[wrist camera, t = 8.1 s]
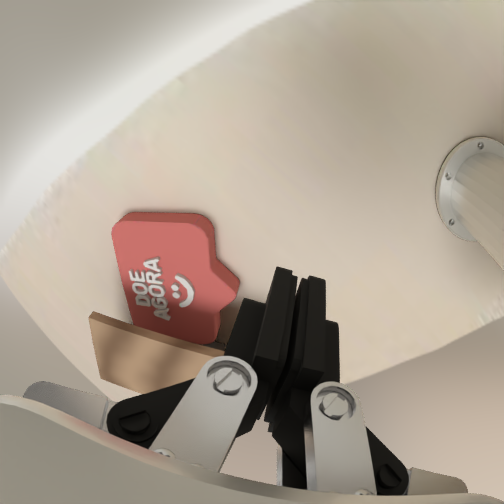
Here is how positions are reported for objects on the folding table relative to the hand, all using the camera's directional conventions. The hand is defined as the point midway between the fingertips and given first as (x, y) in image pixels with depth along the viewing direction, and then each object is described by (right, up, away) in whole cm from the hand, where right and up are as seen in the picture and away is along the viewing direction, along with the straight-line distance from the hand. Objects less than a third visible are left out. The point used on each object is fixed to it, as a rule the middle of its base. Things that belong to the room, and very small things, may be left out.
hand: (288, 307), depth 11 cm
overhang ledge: (-10, -8, +34) cm, 36 cm away
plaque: (-10, -1, +31) cm, 32 cm away
